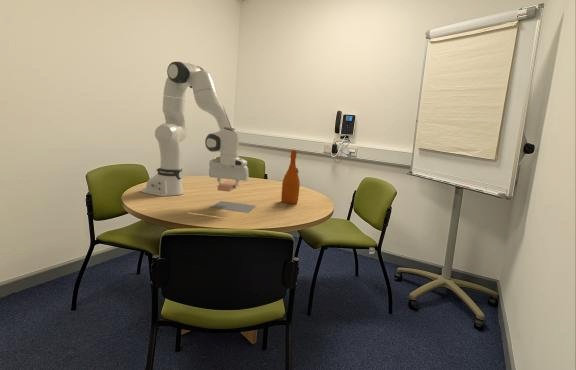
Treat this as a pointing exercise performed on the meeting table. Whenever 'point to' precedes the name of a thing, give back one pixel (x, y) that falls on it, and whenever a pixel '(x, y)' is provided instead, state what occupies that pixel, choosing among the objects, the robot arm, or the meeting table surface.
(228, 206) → the mat
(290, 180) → the wine bottle
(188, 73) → the robot arm
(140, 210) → the meeting table surface
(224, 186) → the tile
